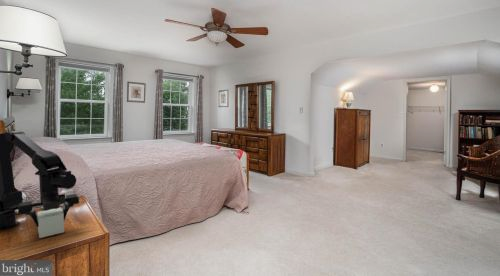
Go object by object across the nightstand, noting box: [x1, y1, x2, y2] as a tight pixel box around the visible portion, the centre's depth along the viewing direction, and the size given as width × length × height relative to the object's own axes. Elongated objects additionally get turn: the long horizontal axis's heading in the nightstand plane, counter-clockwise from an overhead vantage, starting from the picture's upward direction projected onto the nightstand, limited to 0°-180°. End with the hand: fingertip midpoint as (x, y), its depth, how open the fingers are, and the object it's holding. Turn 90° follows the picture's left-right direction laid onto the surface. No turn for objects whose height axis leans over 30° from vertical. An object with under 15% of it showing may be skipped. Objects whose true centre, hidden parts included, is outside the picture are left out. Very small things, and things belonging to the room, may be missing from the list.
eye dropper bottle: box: [59, 188, 74, 208], centre depth 130 cm, size 4×6×12 cm
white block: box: [36, 207, 65, 239], centre depth 101 cm, size 8×8×8 cm
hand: (50, 223), depth 100 cm, fingers closed on white block, 8 cm apart
